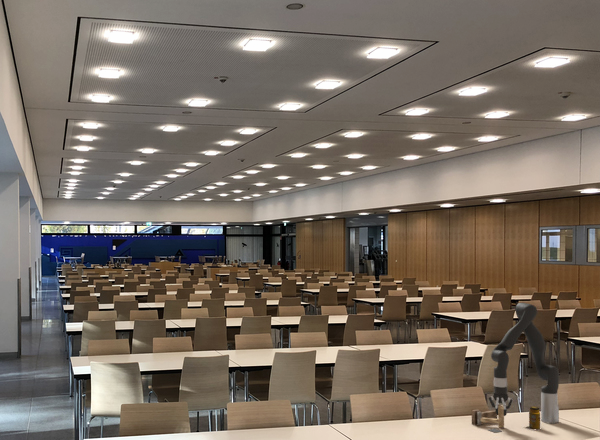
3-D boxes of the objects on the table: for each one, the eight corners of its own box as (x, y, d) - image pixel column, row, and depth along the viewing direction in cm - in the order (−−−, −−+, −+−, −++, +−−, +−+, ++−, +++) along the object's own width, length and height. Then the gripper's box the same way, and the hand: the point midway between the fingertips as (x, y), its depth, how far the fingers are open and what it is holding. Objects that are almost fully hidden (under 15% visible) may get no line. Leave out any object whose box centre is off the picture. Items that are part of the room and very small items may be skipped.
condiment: (543, 428, 362) (543, 407, 362) (534, 431, 357) (534, 409, 357) (532, 425, 368) (532, 404, 368) (523, 427, 363) (523, 406, 364)
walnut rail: (494, 420, 378) (494, 406, 379) (497, 421, 376) (497, 407, 377) (471, 424, 370) (471, 410, 370) (474, 425, 368) (474, 411, 368)
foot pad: (494, 428, 360) (494, 428, 360) (502, 431, 355) (502, 431, 355) (487, 430, 358) (487, 429, 358) (494, 432, 352) (494, 432, 352)
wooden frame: (504, 426, 364) (503, 405, 364) (503, 427, 361) (503, 406, 361) (477, 423, 369) (477, 402, 369) (477, 424, 366) (477, 403, 367)
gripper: (514, 384, 364) (514, 415, 363) (489, 382, 370) (489, 412, 369) (512, 387, 357) (512, 418, 356) (486, 385, 363) (487, 415, 363)
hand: (501, 415), depth 363 cm, fingers closed on wooden frame, 3 cm apart
